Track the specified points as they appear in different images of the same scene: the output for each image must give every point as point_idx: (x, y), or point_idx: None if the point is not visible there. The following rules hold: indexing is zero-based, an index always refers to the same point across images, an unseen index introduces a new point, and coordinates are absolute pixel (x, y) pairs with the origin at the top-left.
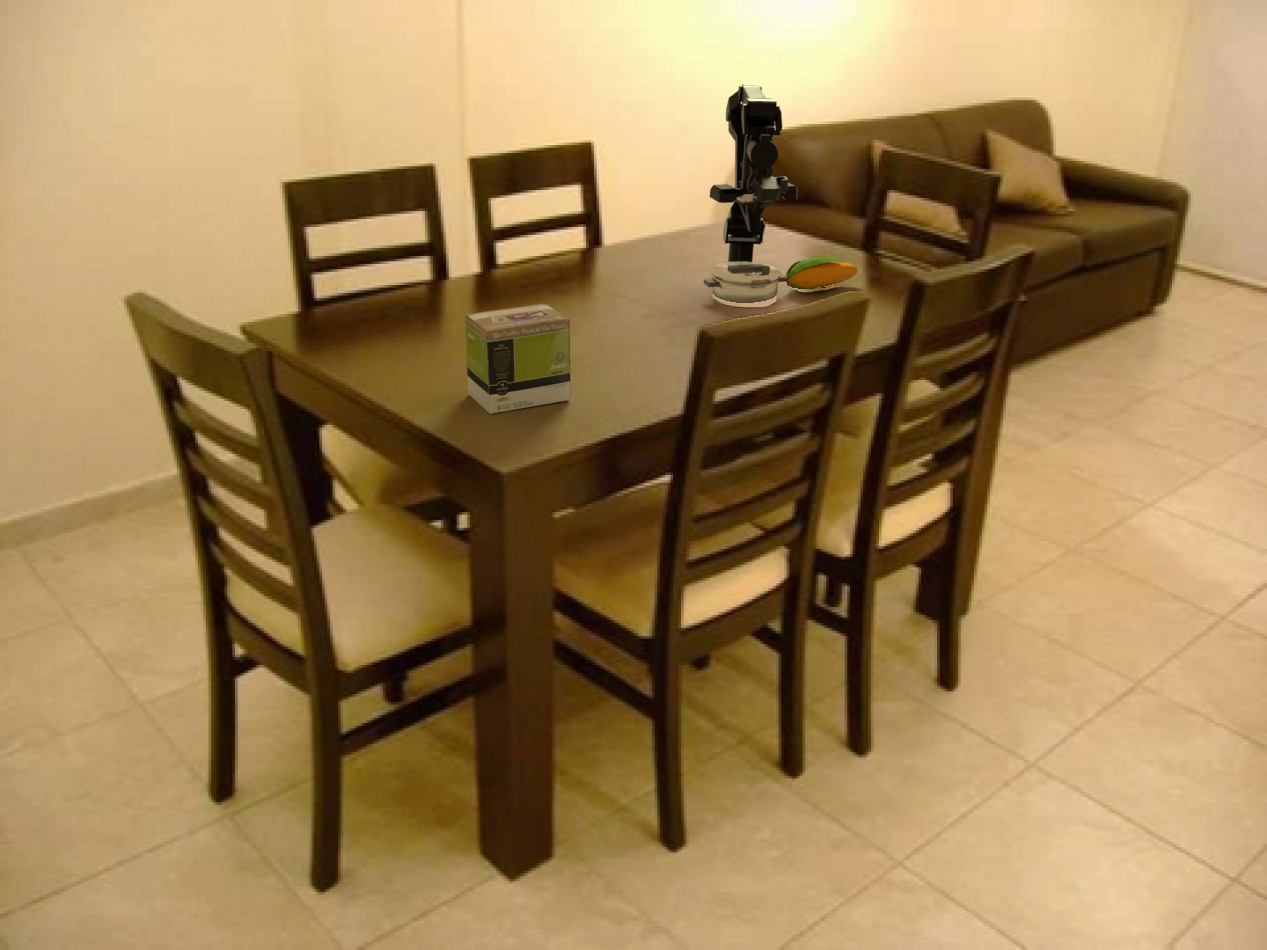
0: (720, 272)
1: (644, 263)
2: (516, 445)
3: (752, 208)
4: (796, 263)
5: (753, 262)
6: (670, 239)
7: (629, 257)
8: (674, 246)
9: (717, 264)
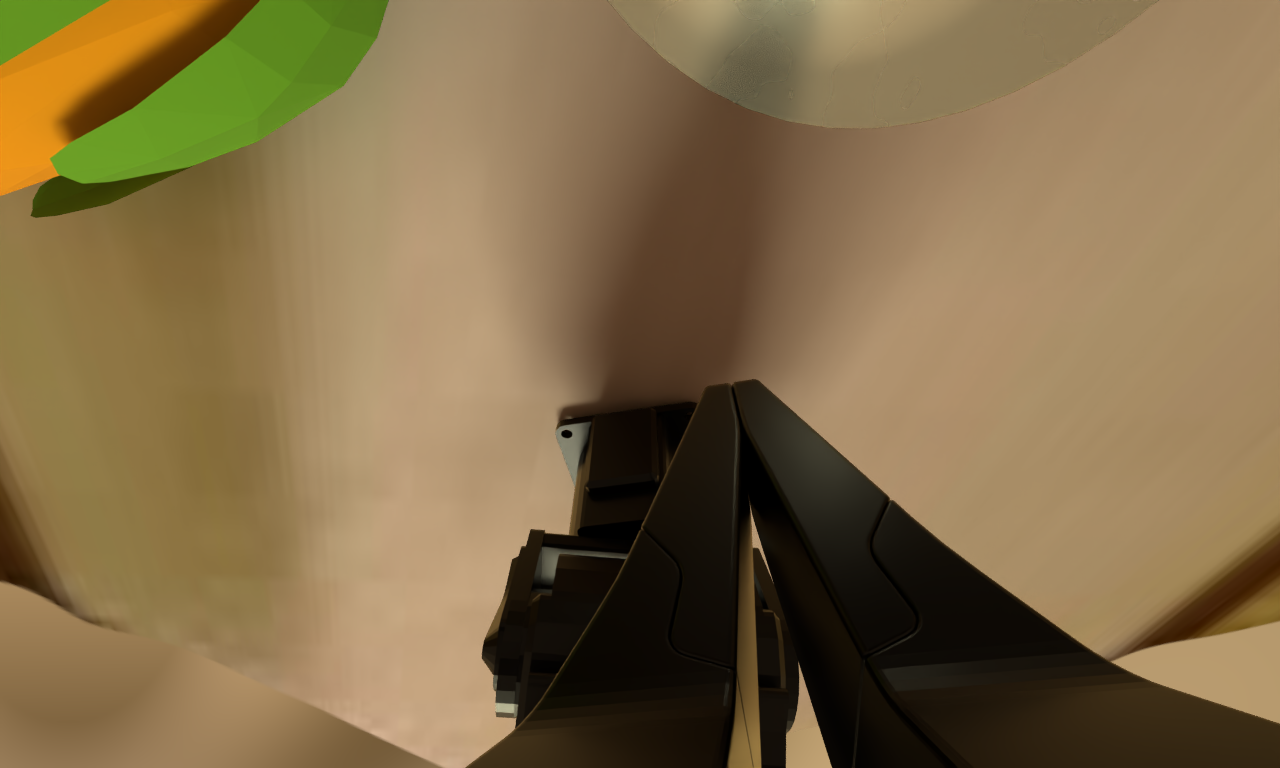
0: None
1: (1058, 524)
2: None
3: (945, 701)
4: (250, 81)
5: (711, 80)
6: None
7: (1065, 584)
8: None
9: (1149, 5)
